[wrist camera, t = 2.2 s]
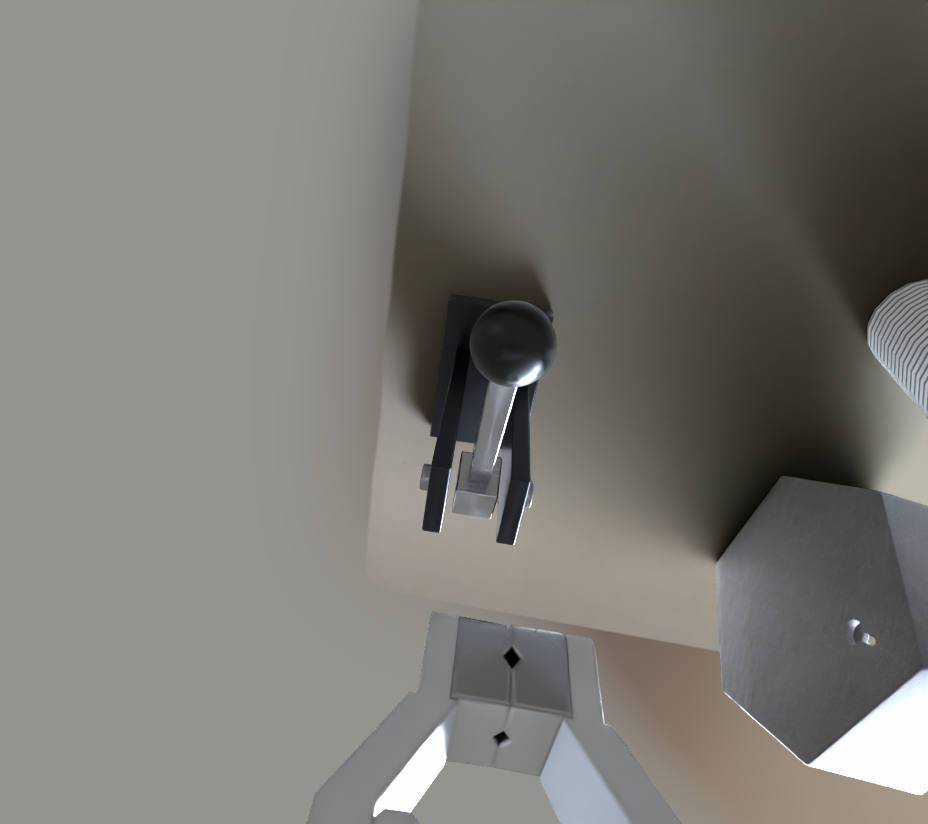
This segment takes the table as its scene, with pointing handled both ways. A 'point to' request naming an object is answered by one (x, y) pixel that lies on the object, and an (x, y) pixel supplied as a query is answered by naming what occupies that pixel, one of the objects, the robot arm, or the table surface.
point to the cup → (904, 339)
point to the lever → (500, 393)
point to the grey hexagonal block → (832, 628)
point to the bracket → (475, 424)
